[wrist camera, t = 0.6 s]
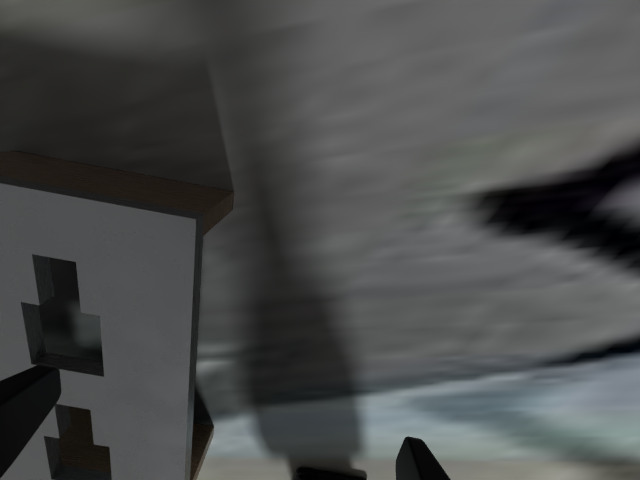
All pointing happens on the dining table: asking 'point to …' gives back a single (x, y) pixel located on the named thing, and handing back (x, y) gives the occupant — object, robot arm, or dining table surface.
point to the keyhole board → (108, 315)
